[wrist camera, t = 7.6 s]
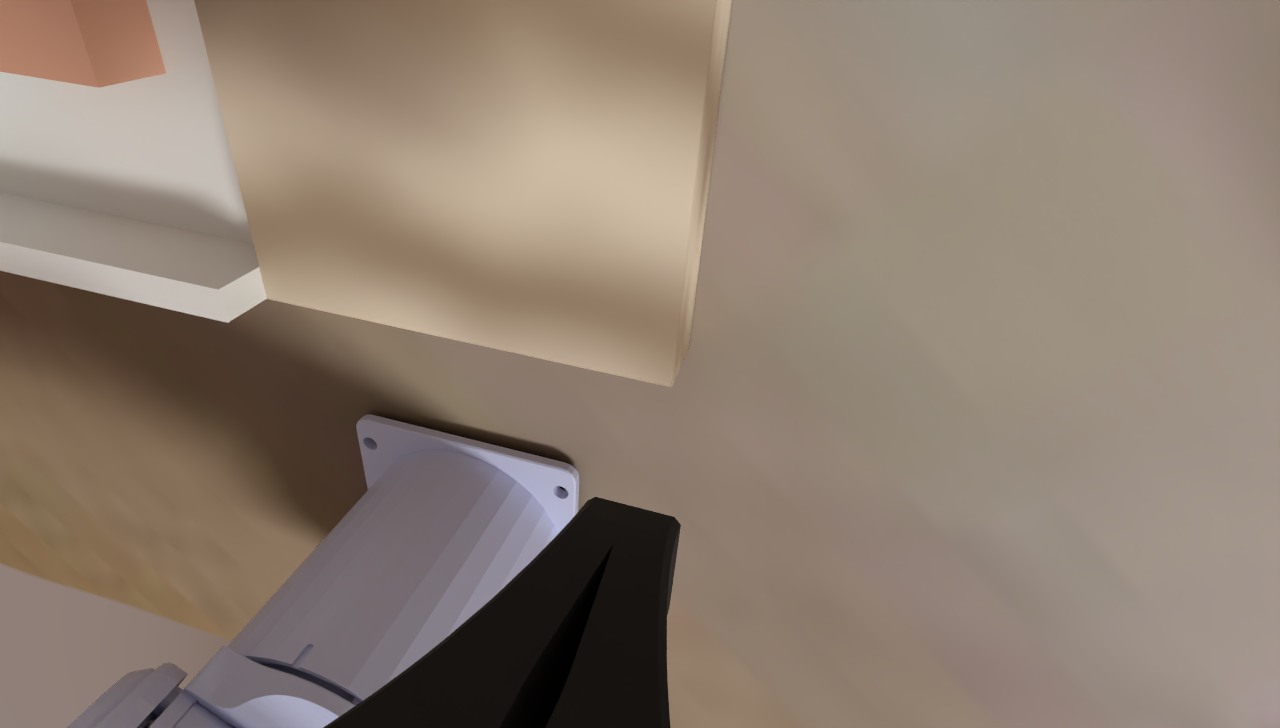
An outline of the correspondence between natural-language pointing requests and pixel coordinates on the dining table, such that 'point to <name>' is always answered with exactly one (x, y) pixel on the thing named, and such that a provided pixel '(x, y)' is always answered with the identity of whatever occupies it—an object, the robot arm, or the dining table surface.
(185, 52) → the box
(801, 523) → the dining table surface
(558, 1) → the birch plate
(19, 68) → the terracotta tile
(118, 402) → the dining table surface
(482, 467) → the robot arm
